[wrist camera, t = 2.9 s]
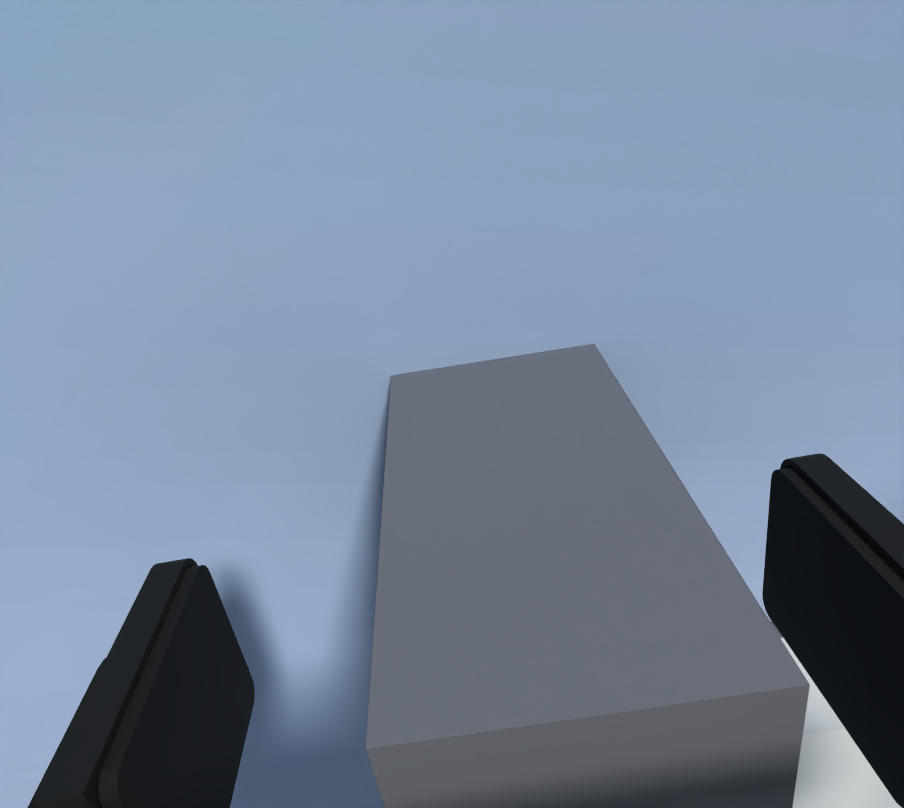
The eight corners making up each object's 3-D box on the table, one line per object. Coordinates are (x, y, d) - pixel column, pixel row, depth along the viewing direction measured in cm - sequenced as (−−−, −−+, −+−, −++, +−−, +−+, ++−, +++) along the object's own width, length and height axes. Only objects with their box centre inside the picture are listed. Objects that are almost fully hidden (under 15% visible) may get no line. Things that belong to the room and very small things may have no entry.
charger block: (594, 343, 13) (809, 684, 6) (603, 509, 15) (776, 920, 8) (391, 376, 13) (366, 748, 6) (424, 536, 15) (435, 967, 8)
